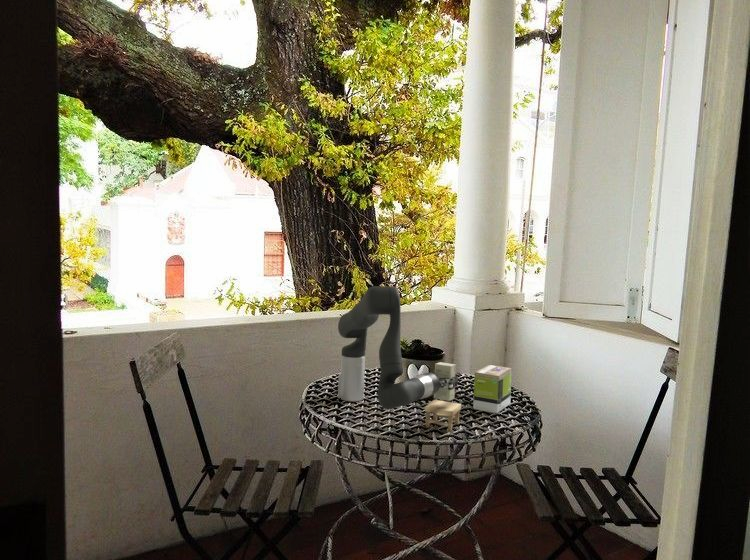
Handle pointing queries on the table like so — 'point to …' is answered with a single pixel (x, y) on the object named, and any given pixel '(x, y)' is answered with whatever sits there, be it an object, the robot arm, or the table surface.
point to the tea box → (492, 388)
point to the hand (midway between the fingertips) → (448, 377)
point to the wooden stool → (442, 412)
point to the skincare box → (444, 371)
